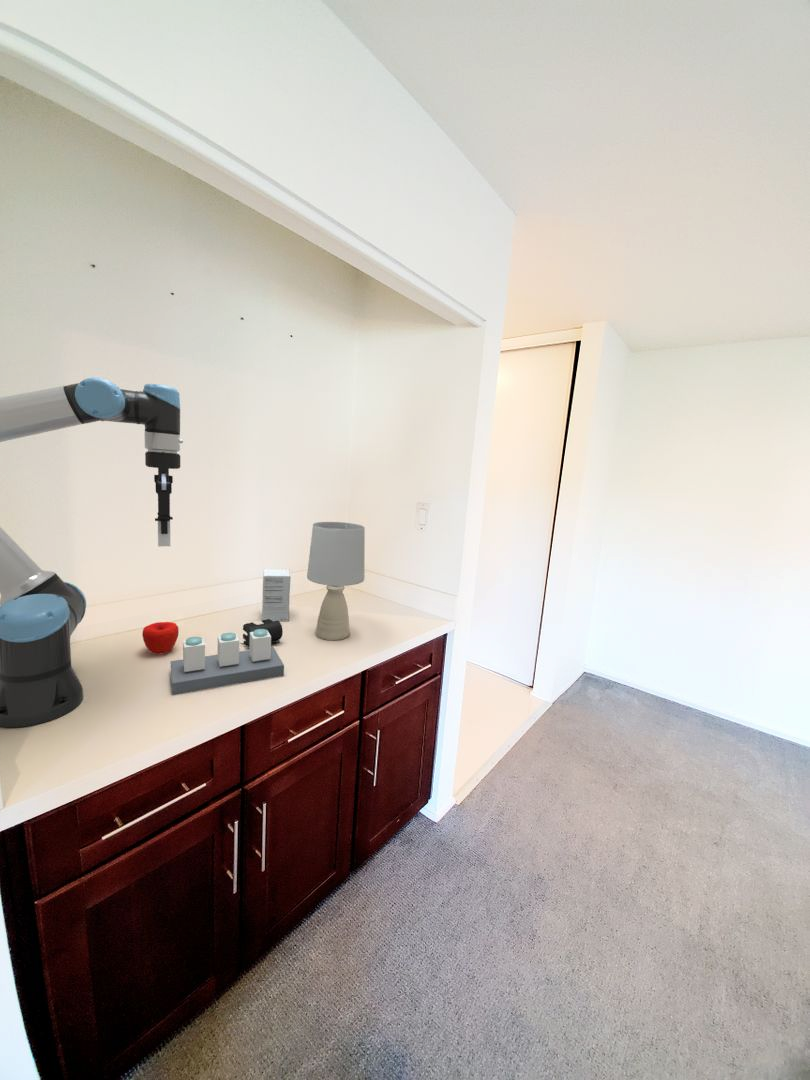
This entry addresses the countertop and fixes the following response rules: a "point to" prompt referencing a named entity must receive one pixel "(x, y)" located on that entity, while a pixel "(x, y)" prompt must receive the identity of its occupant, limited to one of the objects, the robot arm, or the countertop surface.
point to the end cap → (271, 626)
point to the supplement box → (276, 594)
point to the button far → (260, 645)
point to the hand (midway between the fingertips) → (164, 545)
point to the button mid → (228, 649)
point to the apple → (160, 637)
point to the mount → (224, 672)
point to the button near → (193, 654)
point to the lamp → (335, 572)
